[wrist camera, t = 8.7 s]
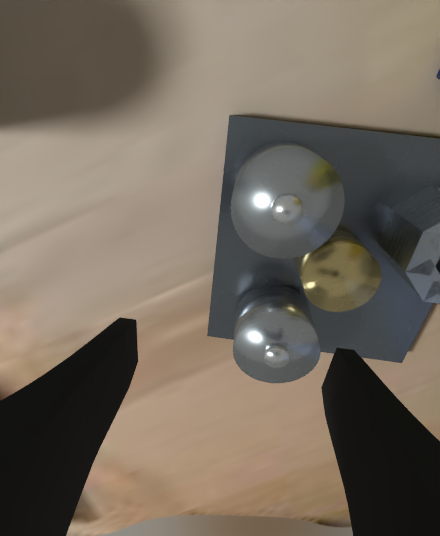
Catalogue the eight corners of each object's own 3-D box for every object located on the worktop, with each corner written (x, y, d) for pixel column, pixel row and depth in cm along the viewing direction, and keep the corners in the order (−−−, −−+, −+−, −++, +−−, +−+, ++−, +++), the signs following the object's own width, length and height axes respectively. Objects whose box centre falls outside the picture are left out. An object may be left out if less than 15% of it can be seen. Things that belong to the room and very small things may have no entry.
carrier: (394, 351, 22) (431, 412, 18) (209, 325, 23) (198, 379, 18) (497, 144, 16) (599, 159, 11) (230, 115, 16) (222, 117, 12)
